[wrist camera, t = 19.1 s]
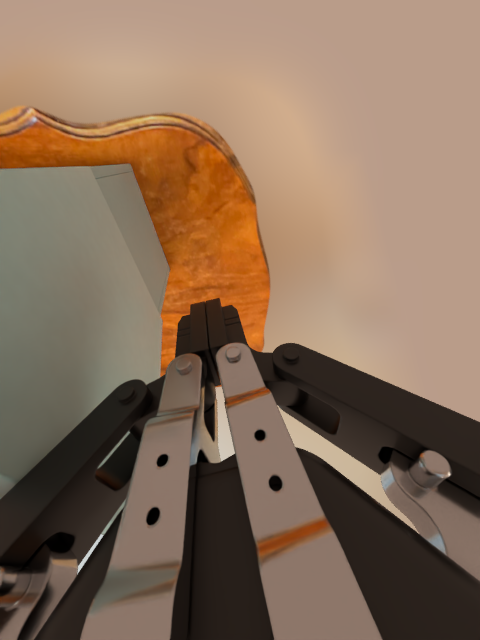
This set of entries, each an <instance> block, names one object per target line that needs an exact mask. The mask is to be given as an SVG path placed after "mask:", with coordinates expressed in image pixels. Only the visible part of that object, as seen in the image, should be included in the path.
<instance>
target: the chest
mask: <svg viewBox="0 0 480 640" xmlns="http://www.w3.org/2000/svg"><path fill="white" fill-rule="evenodd" d="M90 168H91V170H92V173H93V175H94V177H95V179H96V181H97V183H98V185H99V187H100V190H101V192H102V194H103V196H104V198H105V200H106V202H107V204H108V206H109V209H110V211H111V213H112V215H113V217H114V219H115V221H116V223H117V225H118V228H119V230H120V232H121V234H122V236H123V238H124V240H125V242H126V245H127V247H128V249H129V251H130V253H131V255H132V257H133V259H134V261H135V264H136V266H137V268H138V270H139V272H140V274H141V276H142V278H143V281H144V283H145V285H146V287H147V289H148V291H149V293H150V295H151V297H152V300H153V302H154V304H155V306H156V308H157V310H158V312H159V314H160V315H161V310H162V305H163V301H164V296H165V291H166V286H167V282H168V277H169V272H170V268H169V265H168V262H167V260H166V257H165V255H164V252H163V249H162V247H161V244H160V241H159V239H158V236H157V233H156V231H155V228H154V225H153V223H152V220H151V217H150V215H149V212H148V209H147V207H146V204H145V201H144V199H143V196H142V193H141V191H140V188H139V185H138V183H137V180H136V178H135V175H134V172H133V170H132V167H131V164H116V165H103V166H90Z"/></svg>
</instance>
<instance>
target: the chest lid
mask: <svg viewBox="0 0 480 640" xmlns="http://www.w3.org/2000/svg"><path fill="white" fill-rule="evenodd" d="M162 322H163V321H162V319H161V316H160V314H159V312H158V310H157V308H156V306H155V304H154V302H153V300H152V297H151V295H150V293H149V291H148V289H147V287H146V285H145V283H144V281H143V278H142V276H141V274H140V272H139V270H138V268H137V266H136V264H135V261H134V259H133V257H132V255H131V253H130V251H129V249H128V247H127V245H126V242H125V240H124V238H123V236H122V234H121V232H120V230H119V228H118V225H117V223H116V221H115V219H114V217H113V215H112V213H111V211H110V209H109V206H108V204H107V202H106V200H105V198H104V196H103V194H102V192H101V190H100V187H99V185H98V183H97V181H96V179H95V177H94V175H93V173H92V170H91V168H90V167H89V166H72V167H41V168H9V169H0V499H1V498H2V497H3V496H4V495H5V494H6V493H7V492H9V491H10V490H11V489H12V488H13V487H14V486H15V485H16V484H17V483H18V482H19V481H20V480H21V479H22V478H23V477H24V476H25V475H26V474H27V473H28V472H29V471H30V470H31V469H32V468H33V467H35V466H36V465H37V464H38V463H39V462H40V461H41V460H42V459H43V458H44V457H45V456H46V455H47V454H48V453H49V452H50V451H51V450H52V449H53V448H54V447H55V446H56V445H57V444H58V443H59V442H61V441H62V440H63V439H64V438H65V437H66V436H67V435H68V434H69V433H70V432H71V431H72V430H73V429H74V428H75V427H76V426H77V425H78V424H79V423H80V422H81V421H82V420H83V419H84V418H85V417H87V416H88V415H89V414H90V413H91V412H92V411H93V410H94V409H95V408H96V407H97V406H98V405H99V404H100V403H101V402H102V401H103V400H104V399H105V398H106V397H107V396H108V395H109V394H110V393H112V392H113V391H114V390H115V389H116V388H117V387H118V386H119V385H121V384H123V383H124V382H127V381H129V380H133V379H139V380H142V381H144V382H145V384H146V385H147V384H149V383H151V382H153V381H154V380H156V379H158V378H160V367H161V345H162ZM129 433H130V432H129V431H128V432H127V433H126V435H125V436H124V437H123V438H122V439H121V440H120V442H119V443H118V444H117V445H116V446H115V447H114V449H113V450H112V451H111V452H110V453H109V454H108V456H107V457H106V458H105V459H104V460H103V461H102V463H101V464H100V465H99V467H98V468H100V467H101V466H102V465H103V464H104V463H105V462H106V460H107V459H108V458H109V457H110V456H111V455H112V453H113V452H114V451H115V450H116V449H117V447H118V446H119V445H120V444H121V443H122V442H123V440H124V439H125V438H126V437H127V436H128V435H129ZM98 468H97V469H98ZM125 501H126V499H125ZM125 501H124V502H123V504H122V505H121V506H120V508H119V509H118V511H117V512H116V513H115V515H114V516H113V518H112V519H111V520H110V522H109V523H108V525H107V526H106V527H105V529H104V530H103V532H102V533H101V534H102V535H104V534H105V533H106V531H107V530H108V528H109V527H110V525H111V524H112V522H113V521H114V519H115V518H116V516H117V515H118V514H119V512H120V511H121V510H122V509H123V507H124V505H125Z"/></svg>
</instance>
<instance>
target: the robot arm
mask: <svg viewBox="0 0 480 640" xmlns="http://www.w3.org/2000/svg"><path fill="white" fill-rule="evenodd" d="M220 380H221V383H220ZM218 385H222V389H223V393H224V398H225V408H226V413H227V418H228V422H229V426H230V432H231V436H232V441H233V445H234V450H235V454H234V455H232V456H230V457H229V458H227V459H225V460H223V461H222V462H221V459H220V454H219V449H218V419H217V399H216V391H215V386H218ZM277 405H278V406H279V407H280V408H281V409H282V410H283V411H285V412H286V413H288V414H289V415H291V416H292V417H294V418H295V419H297V420H298V421H300V422H301V423H303V424H304V425H306V426H307V427H309V428H310V429H312V430H313V431H315V432H316V433H318V434H319V435H321V436H322V437H324V438H325V439H327V440H328V441H330V442H331V443H333V444H334V445H336V446H337V447H339V448H340V449H342V450H343V451H345V452H346V453H348V454H349V455H351V456H352V457H354V458H355V459H357V460H358V461H360V462H361V463H363V464H364V465H366V466H367V467H369V468H370V469H372V470H373V471H375V472H377V473H378V474H380V475H381V483H382V486H383V489H384V491H385V493H386V495H387V497H388V498H389V500H390V501H391V502H392V503H393V504H394V506H395V507H396V508H398V509H399V510H400V511H401V512H402V513H403V514H404V515H405V516H407V518H408V519H409V520H410V521H411V522H412V523H413V524H414V526H415V527H416V529H417V530H418V532H419V534H418V533H417V532H416V531H415V530H413V529H412V528H410V527H409V526H408V525H407V524H405V523H404V522H403V521H401V520H400V519H399V518H398V517H396V516H395V515H394V514H393V513H391V512H390V511H389V510H387V509H386V508H385V507H384V506H382V505H381V504H380V503H378V502H377V501H376V500H375V499H373V498H372V497H371V496H369V495H368V494H367V493H365V492H364V491H363V490H361V489H360V488H359V487H357V486H356V485H355V484H354V483H353V482H351V481H350V480H349V479H347V478H346V477H345V476H343V475H342V474H341V473H340V472H338V471H337V470H336V469H334V468H333V467H332V466H330V465H329V464H328V463H327V462H325V461H324V460H323V459H321V458H320V457H318V456H316V455H314V454H313V453H310V452H308V451H306V450H303V449H300V448H296V447H295V446H294V444H293V441H292V439H291V437H290V434H289V432H288V430H287V428H286V425H285V423H284V421H283V418H282V416H281V414H280V411H279V409H278V407H277ZM128 431H129V432H130V433H129V435H128V436H127V437H126V438H125V439H124V440H123V442H122V443H121V444H120V445H119V446H118V447H117V449H116V450H115V451H114V452H113V453H112V455H111V456H110V457H109V458H108V459H107V460H106V462H105V463H104V464H103V465H102V466H101V467H100V468H98V467H99V465H100V464H101V463H102V461H103V460H104V459H105V458H106V457H107V456H108V454H109V453H110V452H111V451H112V450H113V449H114V447H115V446H116V445H117V444H118V443H119V442H120V440H121V439H122V438H123V437H124V436H125V435H126V433H127V432H128ZM97 468H98V469H97ZM125 499H126V501H125ZM124 501H125V505H124V507H123V509H122V510H121V511H120V512H119V514H118V515H117V516H116V518H115V519H114V521H113V522H112V524H111V525H110V527H109V528H108V530H107V531H106V533H105V534H104V536H103V538H102V539H101V540H100V542H99V543H98V545H97V546H96V548H95V549H94V551H93V552H92V554H91V555H90V557H89V558H88V560H87V561H86V563H85V564H84V566H83V567H82V569H81V570H80V572H79V573H78V574H77V572H78V565H79V564H80V563H81V561H82V559H83V558H84V557H85V556H86V554H87V553H88V551H89V550H90V548H91V547H92V546H93V544H94V543H95V541H96V540H97V539H98V537H99V536H100V534H101V533H102V532H103V530H104V529H105V527H106V526H107V525H108V523H109V522H110V520H111V519H112V518H113V516H114V515H115V513H116V512H117V511H118V509H119V508H120V506H121V505H122V504H123V502H124ZM0 640H480V422H478V421H476V420H473V419H471V418H469V417H466V416H464V415H461V414H459V413H457V412H455V411H452V410H450V409H448V408H446V407H443V406H441V405H439V404H436V403H434V402H431V401H429V400H427V399H425V398H422V397H420V396H418V395H415V394H413V393H411V392H408V391H406V390H404V389H401V388H399V387H397V386H394V385H392V384H390V383H387V382H385V381H383V380H381V379H378V378H375V377H374V376H371V375H369V374H367V373H364V372H362V371H359V370H357V369H355V368H353V367H350V366H348V365H346V364H343V363H341V362H339V361H336V360H334V359H332V358H330V357H327V356H325V355H322V354H320V353H318V352H316V351H313V350H311V349H309V348H306V347H304V346H301V345H299V344H295V343H286V344H283V345H280V346H278V347H277V348H276V349H275V350H274V351H273V353H263V352H258V351H255V350H253V349H251V348H250V347H249V346H248V344H247V341H246V338H245V335H244V331H243V328H242V325H241V321H240V318H239V315H238V311H237V309H236V308H234V307H233V306H232V305H229V306H225V307H222V306H221V302H220V298H217V299H213V300H208V301H206V303H205V301H204V302H200V303H195V304H191V307H190V315H186V316H183V317H182V318H181V320H180V321H179V323H178V332H177V342H176V354H175V359H174V360H172V361H171V362H170V364H169V365H168V367H167V370H166V374H165V375H163V376H162V377H160V378H158V379H156V380H154V381H153V382H151V383H149V384H147V385H146V384H145V382H144V381H142V380H139V379H133V380H129V381H127V382H124V383H123V384H121V385H119V386H118V387H117V388H116V389H115V390H114V391H113V392H112V393H110V394H109V395H108V396H107V397H106V398H105V399H104V400H103V401H102V402H101V403H100V404H99V405H98V406H97V407H96V408H95V409H94V410H93V411H92V412H91V413H90V414H89V415H88V416H87V417H85V418H84V419H83V420H82V421H81V422H80V423H79V424H78V425H77V426H76V427H75V428H74V429H73V430H72V431H71V432H70V433H69V434H68V435H67V436H66V437H65V438H64V439H63V440H62V441H61V442H59V443H58V444H57V445H56V446H55V447H54V448H53V449H52V450H51V451H50V452H49V453H48V454H47V455H46V456H45V457H44V458H43V459H42V460H41V461H40V462H39V463H38V464H37V465H36V466H35V467H33V468H32V469H31V470H30V471H29V472H28V473H27V474H26V475H25V476H24V477H23V478H22V479H21V480H20V481H19V482H18V483H17V484H16V485H15V486H14V487H13V488H12V489H11V490H10V491H9V492H7V493H6V494H5V495H4V496H3V497H2V498H1V499H0Z"/></svg>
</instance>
